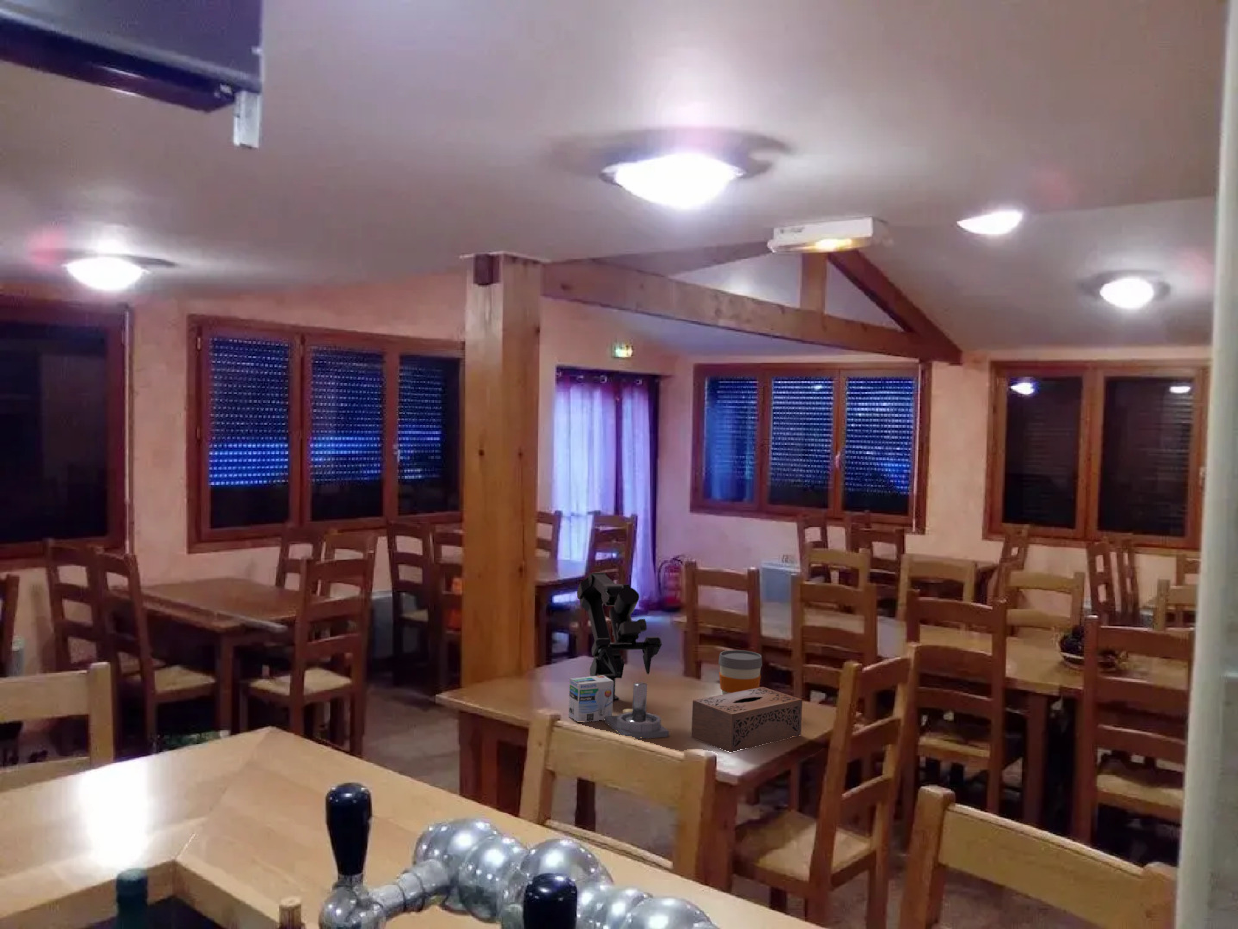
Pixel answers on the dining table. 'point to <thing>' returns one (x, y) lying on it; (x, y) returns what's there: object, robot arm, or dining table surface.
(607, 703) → the light bulb box
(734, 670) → the reusable coffee cup
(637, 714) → the metal flanged shaft
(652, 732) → the carrier plate
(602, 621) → the robot arm
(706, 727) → the tissue box cover
